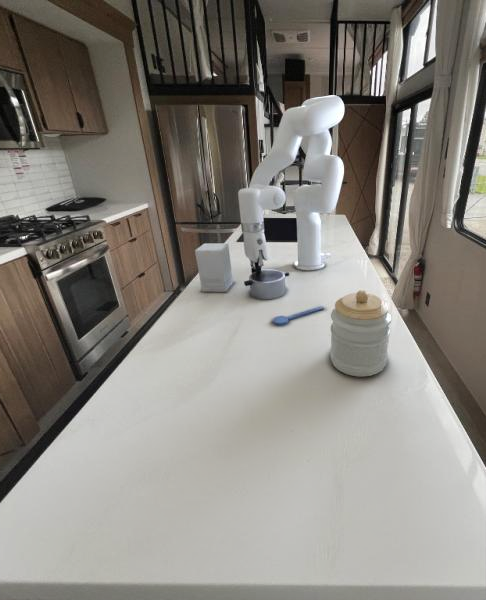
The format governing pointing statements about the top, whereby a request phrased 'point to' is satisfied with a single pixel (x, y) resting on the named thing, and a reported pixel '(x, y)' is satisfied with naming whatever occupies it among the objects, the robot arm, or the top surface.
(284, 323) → the spoon
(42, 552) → the top surface
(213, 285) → the white product box
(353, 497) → the top surface
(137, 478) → the top surface
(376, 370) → the jar
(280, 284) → the pot
